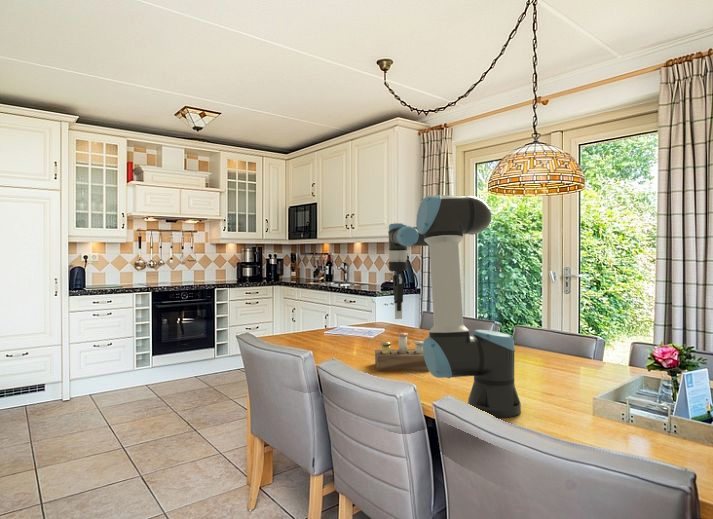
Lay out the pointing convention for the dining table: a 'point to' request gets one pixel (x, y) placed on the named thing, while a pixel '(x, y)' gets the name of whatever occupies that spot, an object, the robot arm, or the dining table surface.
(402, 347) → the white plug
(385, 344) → the brass plug
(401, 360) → the brown wooden block
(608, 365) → the dining table surface
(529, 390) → the dining table surface
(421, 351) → the grey plug
